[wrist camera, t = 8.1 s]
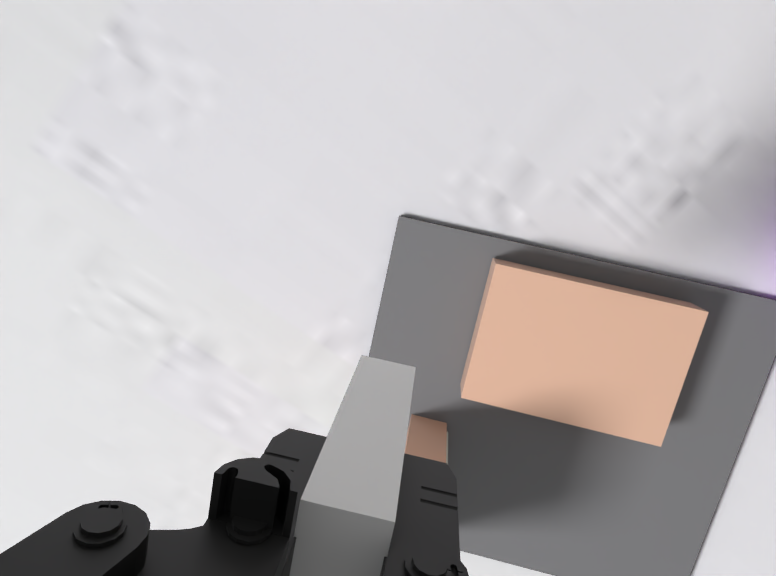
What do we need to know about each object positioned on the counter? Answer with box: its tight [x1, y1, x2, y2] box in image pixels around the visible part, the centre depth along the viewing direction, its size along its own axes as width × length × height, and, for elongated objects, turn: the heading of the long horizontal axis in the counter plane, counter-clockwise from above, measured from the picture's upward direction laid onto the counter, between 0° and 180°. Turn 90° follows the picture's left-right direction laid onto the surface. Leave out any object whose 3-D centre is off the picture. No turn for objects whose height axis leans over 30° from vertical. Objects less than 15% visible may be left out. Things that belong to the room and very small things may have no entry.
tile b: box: [404, 414, 448, 464], centre depth 26 cm, size 7×2×10 cm, turn 168°
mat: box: [369, 216, 776, 576], centre depth 30 cm, size 18×20×1 cm
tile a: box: [460, 258, 709, 447], centre depth 27 cm, size 7×2×10 cm
